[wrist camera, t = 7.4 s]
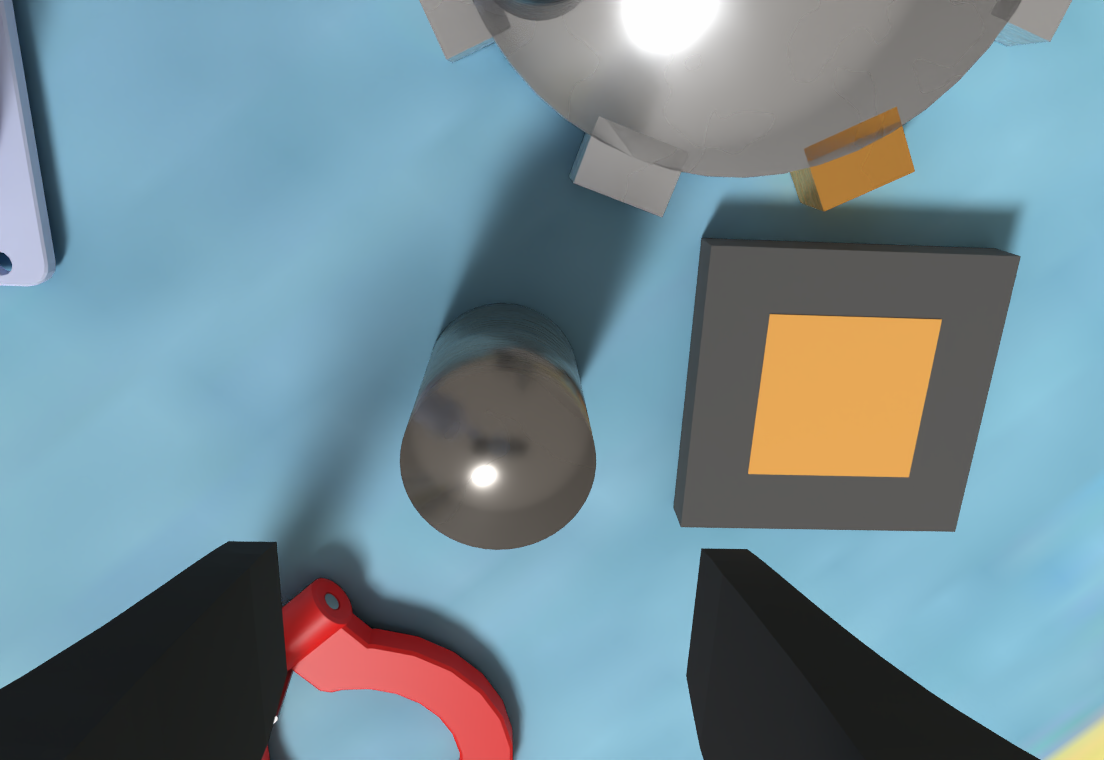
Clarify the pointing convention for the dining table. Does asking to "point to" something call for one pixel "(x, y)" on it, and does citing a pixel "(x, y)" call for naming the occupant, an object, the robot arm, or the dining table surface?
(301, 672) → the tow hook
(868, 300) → the pad
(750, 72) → the sprocket
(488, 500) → the roller
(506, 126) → the dining table surface
